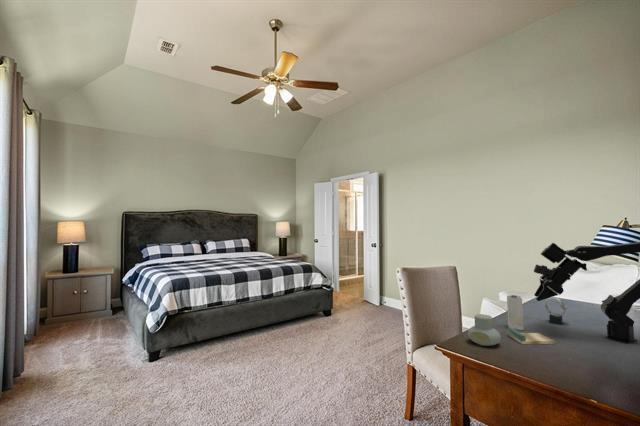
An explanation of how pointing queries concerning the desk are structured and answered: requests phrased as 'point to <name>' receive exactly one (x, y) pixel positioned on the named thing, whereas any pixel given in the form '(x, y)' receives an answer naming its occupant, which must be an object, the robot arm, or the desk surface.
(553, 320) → the watch
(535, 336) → the stand
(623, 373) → the desk surface
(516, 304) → the grey tall block
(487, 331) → the air freshener
